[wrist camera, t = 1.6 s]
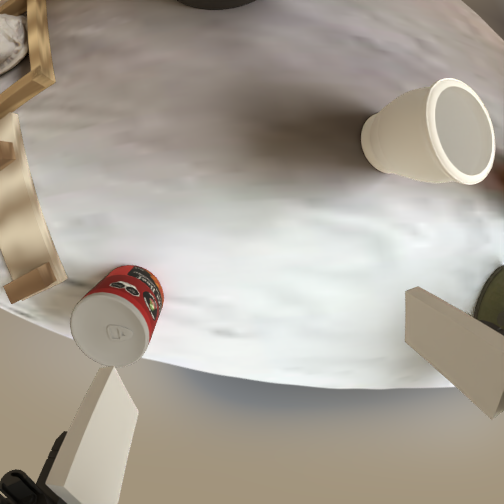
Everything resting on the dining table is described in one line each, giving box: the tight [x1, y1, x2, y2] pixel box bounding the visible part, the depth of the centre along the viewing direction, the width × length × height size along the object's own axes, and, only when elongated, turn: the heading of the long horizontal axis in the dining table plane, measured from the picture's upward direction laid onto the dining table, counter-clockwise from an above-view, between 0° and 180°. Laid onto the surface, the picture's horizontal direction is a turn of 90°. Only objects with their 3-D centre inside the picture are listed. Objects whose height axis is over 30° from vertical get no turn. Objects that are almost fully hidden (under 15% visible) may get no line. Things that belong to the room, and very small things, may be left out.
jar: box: [361, 78, 495, 184], centre depth 28 cm, size 11×10×15 cm
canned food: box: [70, 265, 164, 368], centre depth 29 cm, size 8×8×11 cm
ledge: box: [0, 112, 68, 304], centre depth 28 cm, size 24×8×5 cm, turn 20°
